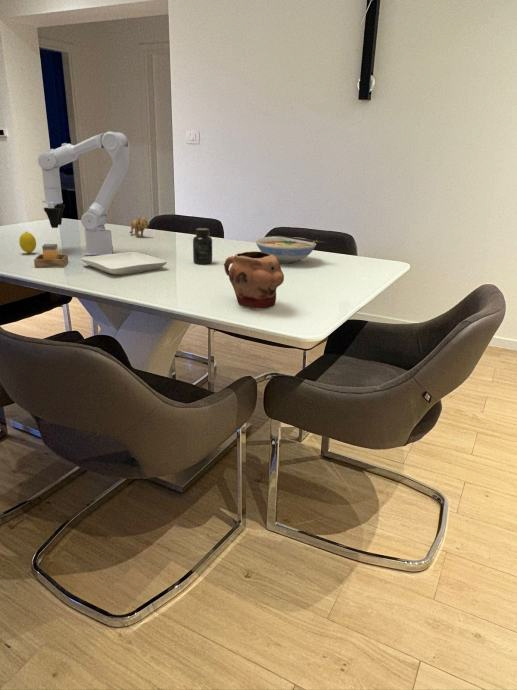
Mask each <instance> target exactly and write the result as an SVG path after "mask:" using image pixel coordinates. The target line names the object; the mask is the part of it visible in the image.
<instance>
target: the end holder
mask: <svg viewBox="0 0 517 690" xmlns="http://www.w3.org/2000/svg"><path fill="white" fill-rule="evenodd" d="M68 255H69V254H67V253H66V254H65V253H61V254H60V253H58V257H59V259H44V257H43V253H40V254H37V256H36V257H35V258H34V259H33V263H34V268H66V267H65V266H67V265H68V263H69V256H68Z"/></svg>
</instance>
